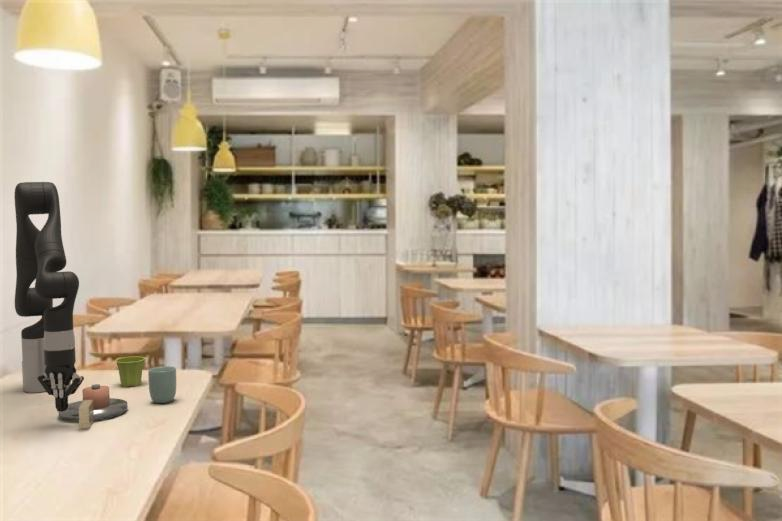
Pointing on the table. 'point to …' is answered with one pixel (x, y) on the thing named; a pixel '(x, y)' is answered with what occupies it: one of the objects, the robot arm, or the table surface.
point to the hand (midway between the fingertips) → (62, 410)
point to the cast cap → (97, 395)
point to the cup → (162, 384)
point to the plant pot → (130, 370)
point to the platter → (92, 411)
